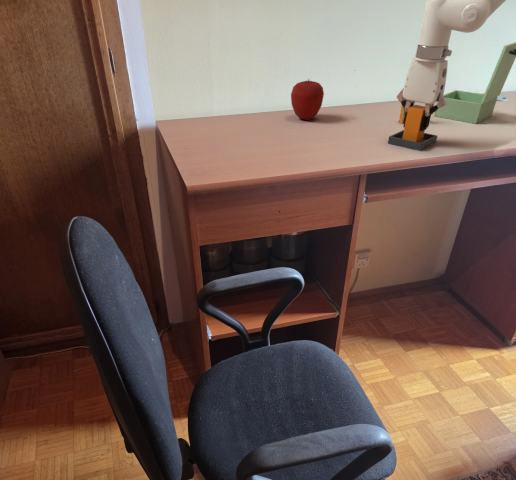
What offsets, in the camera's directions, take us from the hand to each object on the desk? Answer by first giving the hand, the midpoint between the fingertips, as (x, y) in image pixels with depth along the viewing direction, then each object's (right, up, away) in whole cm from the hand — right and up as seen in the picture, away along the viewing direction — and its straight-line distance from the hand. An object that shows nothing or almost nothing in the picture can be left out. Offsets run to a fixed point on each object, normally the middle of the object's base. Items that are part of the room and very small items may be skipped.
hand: (414, 127), depth 129 cm
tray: (0, -3, +3) cm, 4 cm away
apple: (-29, +14, +22) cm, 39 cm away
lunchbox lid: (+31, +24, +12) cm, 41 cm away
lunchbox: (+25, +16, +25) cm, 39 cm away
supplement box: (+3, +11, +19) cm, 22 cm away
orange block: (0, -3, +2) cm, 4 cm away
